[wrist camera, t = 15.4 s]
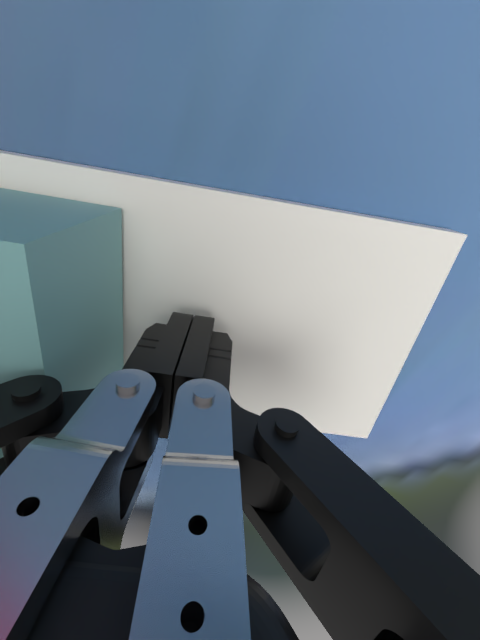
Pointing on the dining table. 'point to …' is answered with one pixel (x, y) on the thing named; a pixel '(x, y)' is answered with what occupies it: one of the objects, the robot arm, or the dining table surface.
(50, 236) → the cap
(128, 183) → the board
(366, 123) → the dining table surface
